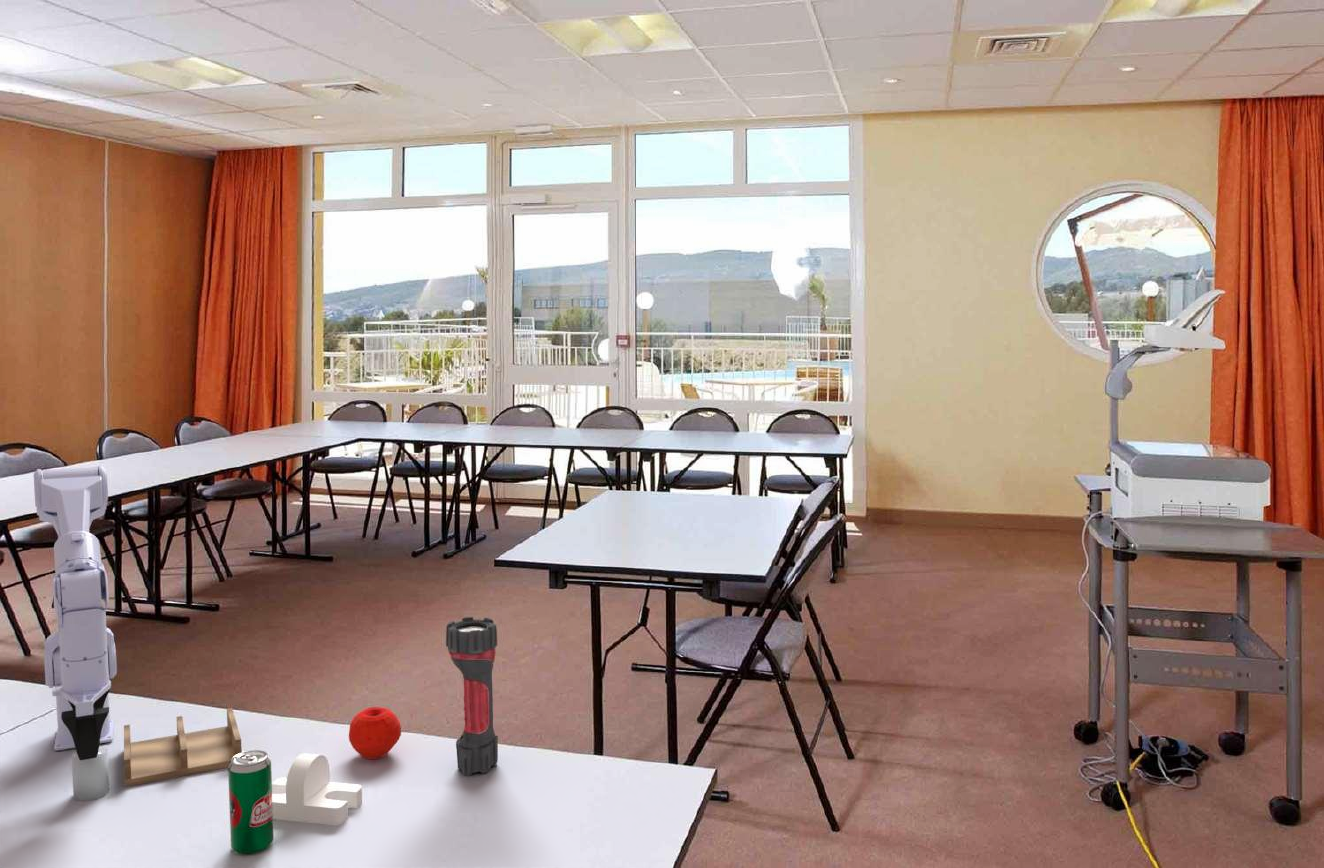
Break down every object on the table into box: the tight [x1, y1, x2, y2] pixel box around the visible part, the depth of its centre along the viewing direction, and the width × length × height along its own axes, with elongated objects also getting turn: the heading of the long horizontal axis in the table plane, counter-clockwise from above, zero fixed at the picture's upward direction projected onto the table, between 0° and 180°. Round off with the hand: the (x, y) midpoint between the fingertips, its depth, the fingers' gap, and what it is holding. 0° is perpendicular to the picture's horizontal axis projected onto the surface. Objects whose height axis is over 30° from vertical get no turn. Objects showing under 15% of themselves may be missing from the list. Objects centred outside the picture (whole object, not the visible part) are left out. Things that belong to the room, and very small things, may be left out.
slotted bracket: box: [272, 752, 363, 826], centre depth 134 cm, size 13×7×8 cm, turn 80°
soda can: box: [227, 749, 275, 856], centre depth 124 cm, size 5×5×12 cm
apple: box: [348, 706, 402, 760], centre depth 151 cm, size 8×8×7 cm
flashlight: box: [445, 616, 499, 777], centre depth 145 cm, size 8×8×23 cm
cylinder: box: [70, 746, 110, 802], centre depth 138 cm, size 4×4×6 cm
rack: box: [123, 707, 243, 787], centre depth 150 cm, size 14×16×4 cm
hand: (89, 747), depth 137 cm, fingers open, 7 cm apart
